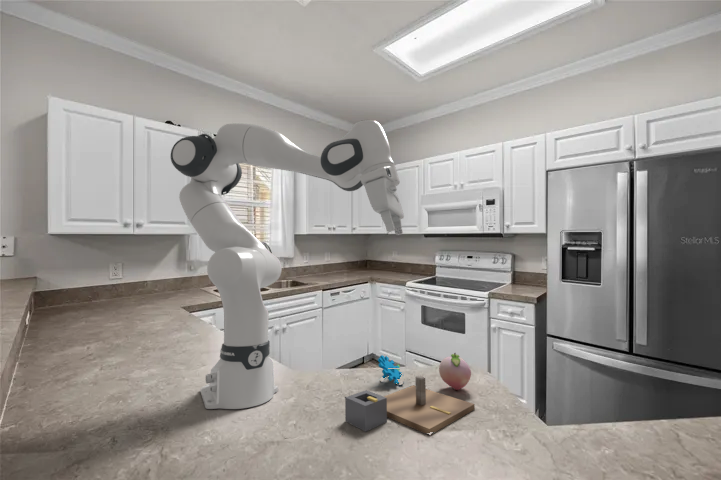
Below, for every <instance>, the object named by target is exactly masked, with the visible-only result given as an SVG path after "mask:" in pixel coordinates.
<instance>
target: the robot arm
mask: <svg viewBox="0 0 721 480" xmlns="http://www.w3.org/2000/svg"><path fill="white" fill-rule="evenodd" d="M391 150H392V149H391V147H390V142H389V140H388V138H387V134H386V132H385V130H384V128H383V126H382V125H381V124H380V123H379V122H378V121H376V120H371V119H364V120H360V121H357V122H356V123H353V125H352V126H351V128H350V130H348V132H347V133H346V134H345V135H343V136H342V137H341V138H340V139H337V140H336V141H335V140H334V141H333V142H330V143H329V144H328V145H326V146H325V147H324V149H323V151H322V152H321V154H320V155H318V154H314V153H310V152H308V151H306V150H303V149H302V148H300V147H299V146H298V145H296V144H295V143H293V141H291V140H290V139H289V138H287V137H286V136H285V135H284V134H282V133H281V132H279V131H278V130H275V129H272V128H270V127H267V126H264V125H258V124H251V123H240V122H239V123H233V122H232V123H225V124H223V125H222V126H221V127H220V128H219V129H218V131H216V135H215V137H212V136H211V135H209V134H207V133H202V134H199V135H188V136H185V137H182V138H180V139H179V140H177V141H176V142H175V144H174V145H173V146H172V147H171V151H170V161H171V164H172V166H173V167H174V168H175V169H176V170H177V171H178V172H179V173H181V174H182V175H184V176H186V177H188V178H191V179H190V181H189V183H187V184H186V185H184V186H183V187H182V189H181V190H180V192H179V196H178V198H179V201H180V205H181V206H182V209H183V211H184V213H185V216H186V218H187V219H188V221H189V222H190V223H191V226H192V228H194V230H195V231H196V233H197V234H198V236H199V237H200V239H201V240H202V242H203V243H204V245H205V246H206V247H207V248H208V249H209V250H211V251H212V252H213V254H212V255H211V256H210V258H209V260H208V262H207V267H206V272H207V276H208V278H209V281H210V282H211V283H212V284H213V285H214V286H215V288H216V289H217V291H218V294H219V296H220V300H221V303H222V308H223V309H222V310H223V318H224V321H223V326H224V327H223V343H222V344H221V347H220V352H219V353H220V354H219V360H218V361H217V362H216V363H215V364H214V366H213V367H212V368H211V369H210V373H207V374H205V385H203V386H201V387H200V395H201V397H202V401H203V404H204V408H205V409H207V410H213V409H214V410H215V409H217V410H218V409H225V410H240V409H241V410H242V409H247V408H248V409H249V408H252V407H256V406H260V405H262V404H265V403H267V402H268V401H270V400H272V398H273V396H274V394H275V393H277V392H278V391H279V385H276V384H275V374H274V372H275V370H274V367H275V366H274V360H273V359H272V358H270V357H269V355H270V353H271V352H270V349H271V345H270V341H269V321H270V320H269V318H270V317H269V316H270V313H269V310H268V307H266V306H265V304H264V301H263V297H262V293H261V289H264V288H267V287H269V286H270V285H273V284H275V282H277V281H278V280H279V278H280V277H281V274H282V272H283V271H282V263H281V261H280V259H279V258H278V257H277V256H276V255H275V254H273V253H272V252H271V251H270V250H269V249H267V247H266V246H265V245H264V244H263V243H262V242H261V241H260V240H259V239H258V238H257V237H256V236H255V235H254V234H253V233H252V232H251V231H250V230H249V229H248V228H247V227H246V226H245V225H244V224H243V223H242V221H241V220H240V219H239V217H238V216H237V215H236V213H235V212H234V210H233V209H232V208H231V207H230V204H228V202H227V201H226V200H225V198H224V197H223V196H224V195H227V194H228V193H230V191H231V190H232V189H234V188H235V187H236V186H237V185H238V184H239V183H240V181H241V178H242V174H243V171H242V167H241V165H240V164H246V165H250V166H254V167H258V168H259V167H260V168H266V169H274V170H280V171H281V170H282V171H286V172H287V171H288V172H295V173H298V174H301V175H302V174H303V175H306V176H311V177H314V178H319V179H323V180H326V181H329V182H332V183H333V184H334V185H336V186H337V187H338V188H339V189H341V190H343V191H345V192H354V191H358V190H359V189H361V188H362V187H364V190H365V192H366V195H367V197H368V200H369V203H370V206H371V208H372V210H373V211H374V212H376V213H378V214H379V215H380V217H381V219H382V221H383V222H382V223H384V226H385V228H386V231H387V232H388V233H389V232H394V234H395V235H396V236H400V235H402V234H403V233H404V232H403V228H402V219H404V217H405V215H404V211H403V207H402V205H401V201H400V199H399V196H398V193H397V186H399V184H400V177H399V173H398V170H397V166H396V165H395V162H394V161H393V159H392V155H391V152H392V151H391Z"/></svg>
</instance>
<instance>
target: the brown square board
mask: <svg viewBox="0 0 721 480" xmlns="http://www.w3.org/2000/svg"><path fill="white" fill-rule="evenodd" d="M414 379H415V385H410V386H408V387H405V388H403V389H399V390H397V391H394V392H392V393H388V394H386V395H383V397H386V398H387V419H391V420H393V421H396V422H399V423H400V424H403V425H405V426H407V427H409V428H412V429H414V430H415V431H419V432H421V433H423V434H425V433H430V432H435V433H437V432H438V431H440V430H442V429H443V428H446V427H447V426H448V425H450V424H452V423H454V422H456V421H457V420H459V419H461V418H463V417H464V416H466V415H468V414H469V413H471V412H472V411H475V403H473V402H469V401H465V400H463V399H460V398H456V397H453V396H451V395H447V394H444V393H440V392H437V391H433V390H430V389H428V388H426V377H425V376H424V375H423V376H422V375H416V376H415V378H414Z"/></svg>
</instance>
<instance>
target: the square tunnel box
mask: <svg viewBox="0 0 721 480" xmlns="http://www.w3.org/2000/svg"><path fill="white" fill-rule="evenodd" d="M344 399H345V401H344V402H345V409H344V410H345V414H344V415H345V416H344V417H345V420H344V421H345V423H348V424H350V425H352V426H353V427H355V428H358V429H360V430H361V431H363V432H365V433H366V432H368V431H370V430H372V429H375V428H377V427H379V426H381V425H384V424H386V423H387V422H388V417H387V398H386V397H384V395H380V394H378V393H375V392H373V391H369V390H368V389H366V390H363V391H359V392H357V393H354V394H351V395H349V396H348V395H347V396H345V398H344Z"/></svg>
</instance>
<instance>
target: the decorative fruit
mask: <svg viewBox="0 0 721 480" xmlns="http://www.w3.org/2000/svg"><path fill="white" fill-rule="evenodd" d="M438 373H439V375H440V378H441V380H442V381H443V382H444V383H446V385H448V386H449V387H451V388H452V389H454V390H455V389H456V390H455V391H458V390H461V389H463V388H464V387H466V386H467V385H468V384H469V381H470V380H471V377H472V370H471V368H470V365H469V364H468V363H467V362H466V360H464V358H462V357H461V356H460V355H459V354H457V353H456V352H454V353H452V354H450V356H447V357H445V358H443V359H442V360H441V362H440V363H439V366H438Z"/></svg>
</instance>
